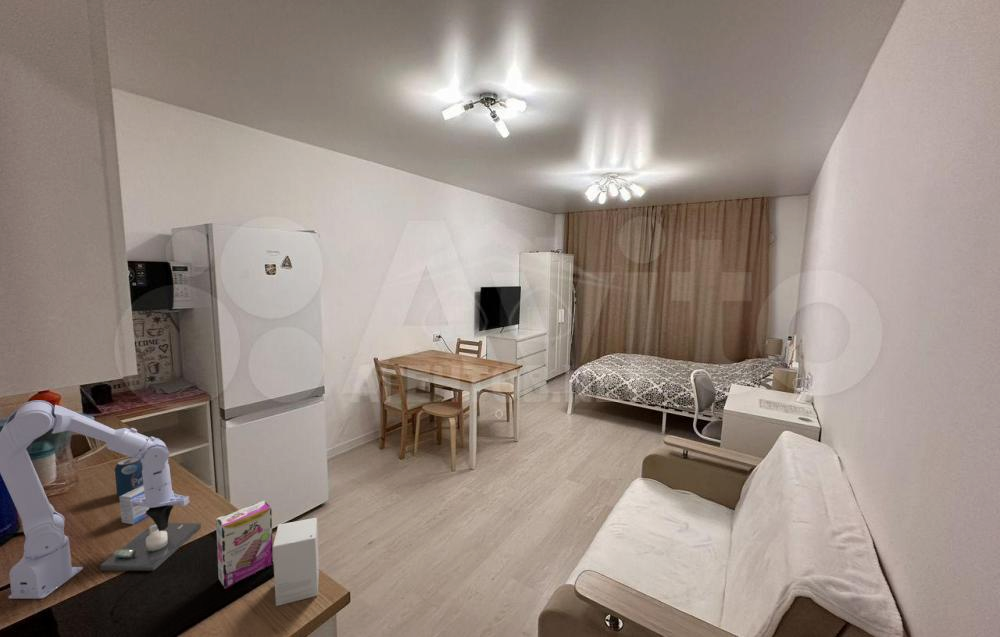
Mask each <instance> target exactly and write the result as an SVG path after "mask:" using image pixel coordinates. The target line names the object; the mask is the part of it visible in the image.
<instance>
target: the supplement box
mask: <svg viewBox="0 0 1000 637" xmlns="http://www.w3.org/2000/svg"><path fill="white" fill-rule="evenodd" d="M318 535H319V534H318V518H317V517H313V518H308V519H301V520H298V521H292V522H286V523H285V522H284V523H279V524H278V525H277V529H276V533H275V536H274V540H273V542H272V550H273V575H274V576H273V577H274V578H273V579H274V593H275V594H274V595H275V606H276V607H278V606H282V605H286V604H290V603H294V602H298V601H302V600H305V599H309V598H314V597H317V596H318V594H319V581H320V579H319V578H320V566H319V565H320V562H319V561H320V559H319V539H318V538H319V536H318ZM318 569H319V570H318Z"/></svg>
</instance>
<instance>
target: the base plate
mask: <svg viewBox="0 0 1000 637" xmlns="http://www.w3.org/2000/svg"><path fill="white" fill-rule="evenodd" d="M153 524H155V522H154V523H153ZM201 526H202V525H201V523H199V522H198V523H197V522H195V523H194V522H188V523H187V522H183V523H182V522H181V523H180V522H177V523H176V522H168V527H167V528H166V529H164V530H163V531H166V532H167V538H168V544H167V545H166V546H165V547H163V548H161V549H159V550H156V551H147V549H146V538H147V537H148V536H149V527H148V528H147V529H146V530H144V531H143V532H141V533H140V534H138V535H137V536H136V537H135V538H133V539H132V540H131V541H130V542H128V543H127V544H125V546H123V547H121V548H120V549H117V550H115V551H114V553H113V555H111V556H110V557H109V558H108V559H106V560H105V561H104V562H102V563H101V564H99V566H100V568H99V569H100V571H104V572H105V571H107V572H108V571H113V572H114V571H115V572H117V571H122V572H125V571H128V572H129V571H131V572H132V571H140V572H141V571H142V572H143V571H146V572H147V571H155V570H156V569H157V568H159V566H160V565H162V564H163V563H165V561H166V560H167V559H169V557H171V556H172V555H173V554H174V553H175V552H176V551H178V549H179V548H181V547H182V545H184V544H185V543H186V542H187V541H188V540H190V538H192V537H193V536H194V535H196V533H197V532H198V531H199V530H200V529H201V528H202V527H201Z"/></svg>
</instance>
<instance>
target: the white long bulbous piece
mask: <svg viewBox="0 0 1000 637" xmlns="http://www.w3.org/2000/svg"><path fill="white" fill-rule="evenodd" d="M154 523H155V522H154ZM154 523H152V524H149V525H148V528H149V536H148V537H147V538H146V549H147V551H156V550H159V549H161V548H163V547H165V546H166V545H167V544H168V538H167V532H166V531H159V529H158V527H157V525H156V523H155V524H154Z"/></svg>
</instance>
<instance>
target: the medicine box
mask: <svg viewBox="0 0 1000 637" xmlns="http://www.w3.org/2000/svg"><path fill="white" fill-rule="evenodd" d="M142 496H145V492H144V485H142V486H140V487H138V488H136V489H134V490H132V491H130V492H128V493H126V494H124V495H122V496H120V497H119V496H118V498H119V506H120V516H121V523H123V524H126V525H135V524H138V523H139V522H141V521H143V520H146V518H148V517H149V516H148V515H147V514H146V511H147V510H148V509H149V508H148V507H145V506H135V507H130V500H132V499H133V498H135V497H142Z"/></svg>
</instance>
